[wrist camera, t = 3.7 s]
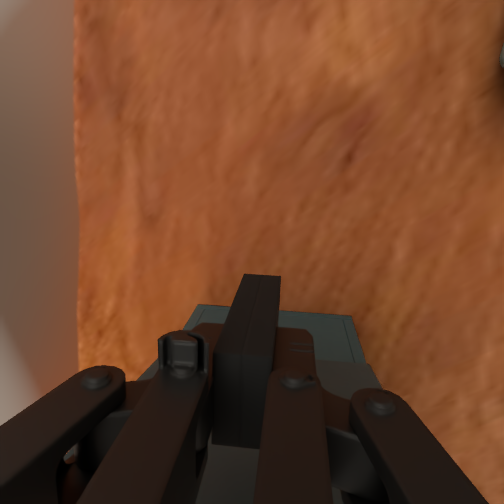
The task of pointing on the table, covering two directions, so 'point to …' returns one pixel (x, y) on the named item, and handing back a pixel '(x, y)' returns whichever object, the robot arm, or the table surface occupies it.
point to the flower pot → (502, 57)
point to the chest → (318, 325)
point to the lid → (246, 459)
